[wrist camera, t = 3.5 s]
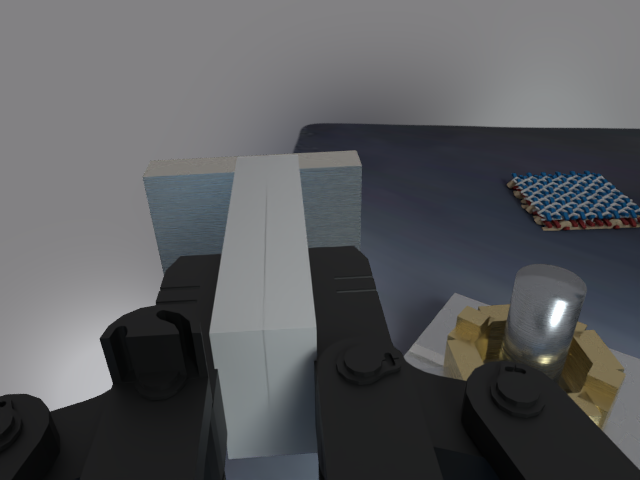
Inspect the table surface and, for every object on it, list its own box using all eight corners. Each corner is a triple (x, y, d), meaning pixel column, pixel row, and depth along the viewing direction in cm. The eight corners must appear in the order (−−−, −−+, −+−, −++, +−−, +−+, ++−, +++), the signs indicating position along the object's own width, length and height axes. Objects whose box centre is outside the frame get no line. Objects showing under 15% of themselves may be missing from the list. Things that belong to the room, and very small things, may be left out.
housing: (451, 314, 39) (468, 193, 34) (667, 396, 32) (731, 260, 27) (349, 447, 29) (351, 306, 24) (626, 607, 22) (713, 458, 17)
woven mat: (540, 238, 49) (544, 219, 48) (502, 188, 58) (505, 171, 57) (650, 234, 49) (657, 215, 48) (595, 185, 58) (600, 168, 57)
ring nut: (559, 337, 33) (624, 110, 26) (638, 451, 26) (761, 183, 18) (207, 362, 32) (165, 132, 24) (189, 489, 25) (120, 219, 17)
